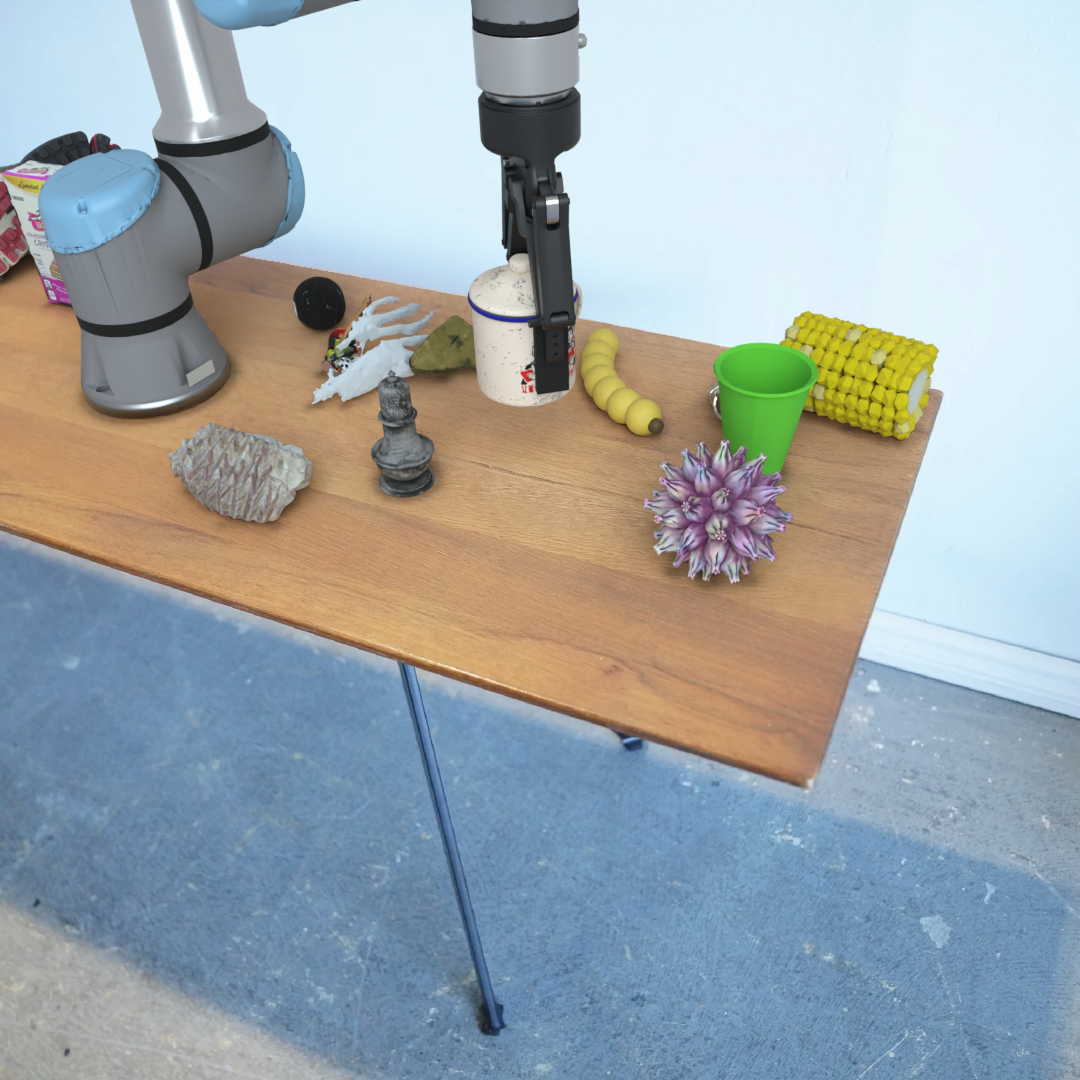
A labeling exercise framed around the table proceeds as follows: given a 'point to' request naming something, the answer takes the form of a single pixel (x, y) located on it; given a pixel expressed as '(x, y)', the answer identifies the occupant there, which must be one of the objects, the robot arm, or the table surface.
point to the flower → (717, 511)
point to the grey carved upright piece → (401, 442)
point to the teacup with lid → (511, 334)
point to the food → (864, 373)
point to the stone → (446, 348)
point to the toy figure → (336, 338)
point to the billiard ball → (319, 303)
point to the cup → (763, 398)
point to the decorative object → (375, 351)
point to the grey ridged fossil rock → (240, 472)
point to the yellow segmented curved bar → (616, 386)
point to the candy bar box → (36, 222)
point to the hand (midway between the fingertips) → (539, 361)
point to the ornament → (715, 399)
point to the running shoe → (3, 233)
